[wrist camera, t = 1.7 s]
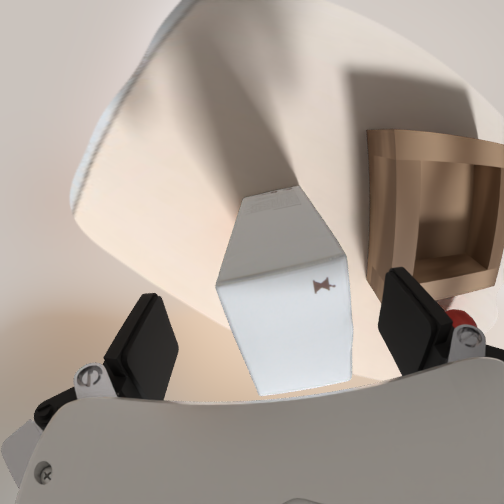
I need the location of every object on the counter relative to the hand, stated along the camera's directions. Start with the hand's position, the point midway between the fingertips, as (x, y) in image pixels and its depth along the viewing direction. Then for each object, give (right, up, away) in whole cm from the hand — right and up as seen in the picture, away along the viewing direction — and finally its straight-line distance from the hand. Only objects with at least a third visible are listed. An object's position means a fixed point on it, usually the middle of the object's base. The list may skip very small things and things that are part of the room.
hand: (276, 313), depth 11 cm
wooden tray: (+14, +6, +8) cm, 17 cm away
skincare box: (+1, +4, +9) cm, 10 cm away
